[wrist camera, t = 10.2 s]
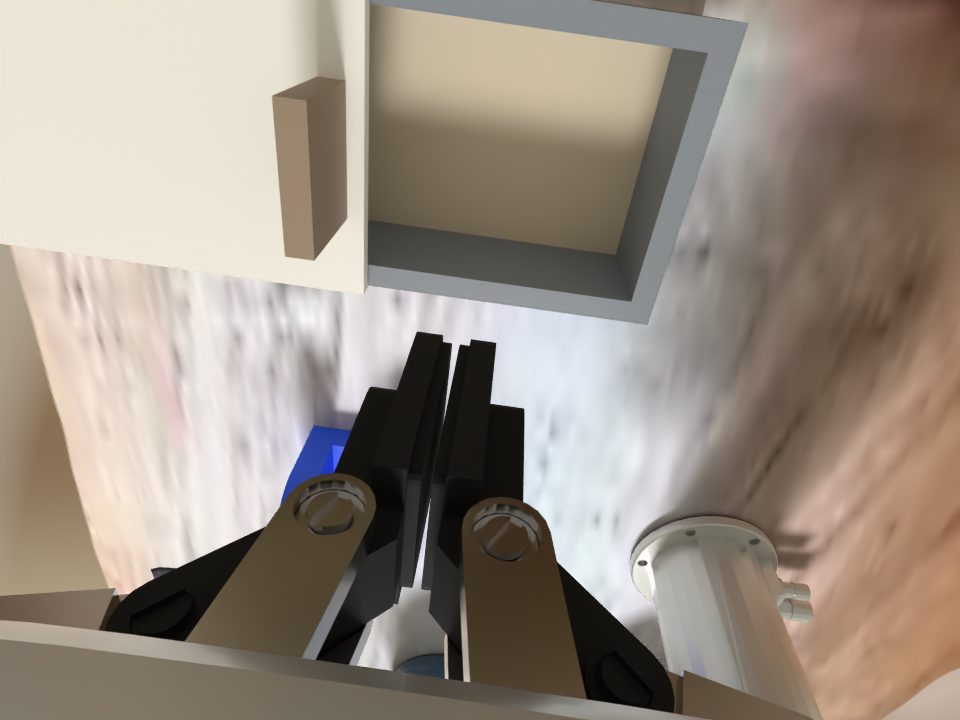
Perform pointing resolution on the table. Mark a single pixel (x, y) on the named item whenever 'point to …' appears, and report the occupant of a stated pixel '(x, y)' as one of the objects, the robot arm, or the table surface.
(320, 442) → the bracket
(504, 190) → the grey tray
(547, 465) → the table surface
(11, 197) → the lid
